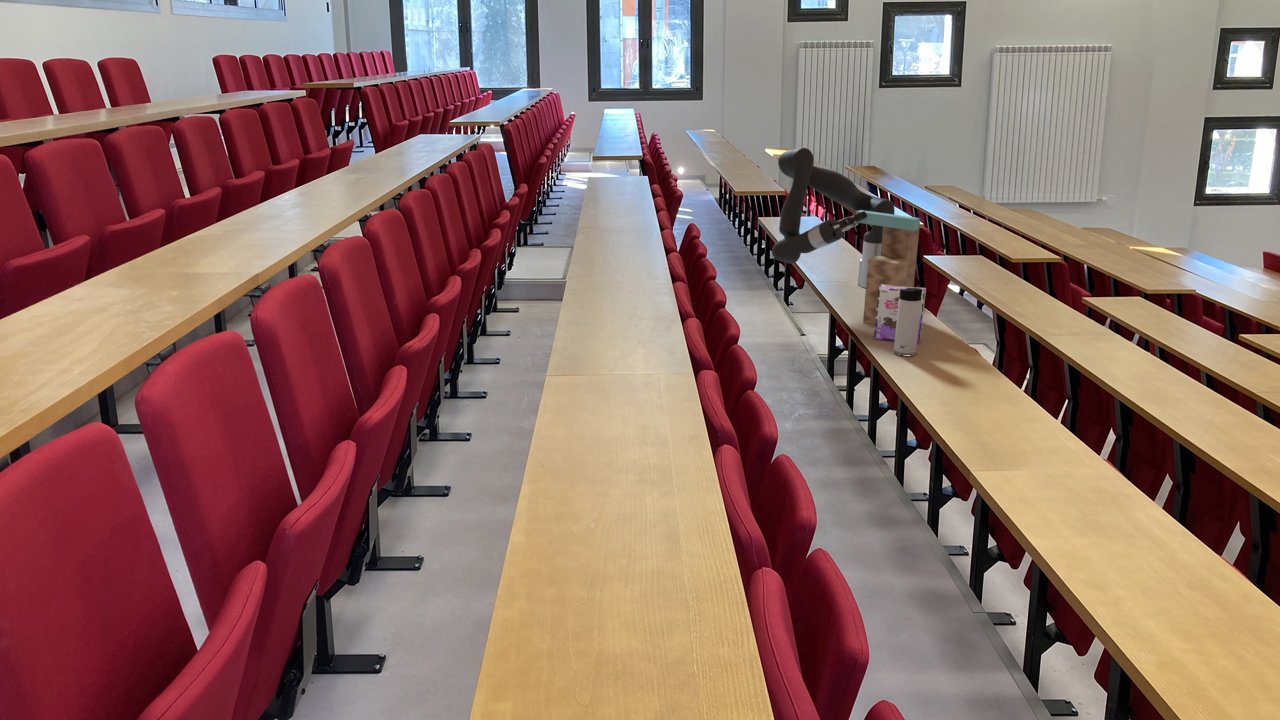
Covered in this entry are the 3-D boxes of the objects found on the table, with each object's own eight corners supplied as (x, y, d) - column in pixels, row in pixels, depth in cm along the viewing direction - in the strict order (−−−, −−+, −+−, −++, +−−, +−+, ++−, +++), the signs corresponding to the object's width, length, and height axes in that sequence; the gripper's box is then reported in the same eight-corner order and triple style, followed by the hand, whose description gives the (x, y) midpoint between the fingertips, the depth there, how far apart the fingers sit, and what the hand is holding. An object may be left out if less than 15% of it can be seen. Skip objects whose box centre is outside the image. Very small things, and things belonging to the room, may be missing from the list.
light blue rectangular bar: (854, 222, 295) (855, 211, 294) (859, 220, 298) (860, 210, 297) (913, 230, 283) (915, 219, 282) (918, 229, 286) (919, 218, 285)
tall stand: (875, 317, 305) (883, 219, 295) (885, 312, 311) (894, 215, 301) (900, 322, 300) (910, 222, 289) (910, 317, 306) (920, 218, 295)
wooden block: (863, 322, 300) (868, 259, 293) (873, 317, 305) (879, 255, 299) (891, 327, 294) (897, 263, 287) (902, 322, 300) (908, 259, 293)
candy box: (873, 339, 281) (877, 287, 276) (875, 334, 287) (879, 283, 282) (919, 344, 277) (925, 291, 272) (921, 338, 282) (926, 287, 277)
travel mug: (903, 358, 264) (910, 291, 257) (889, 351, 270) (895, 286, 263) (921, 355, 266) (928, 289, 260) (906, 349, 272) (912, 284, 266)
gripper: (810, 226, 300) (854, 204, 288) (830, 220, 310) (874, 200, 299) (819, 247, 300) (863, 226, 288) (839, 241, 310) (882, 221, 298)
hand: (868, 213), depth 293 cm, fingers closed on light blue rectangular bar, 3 cm apart
